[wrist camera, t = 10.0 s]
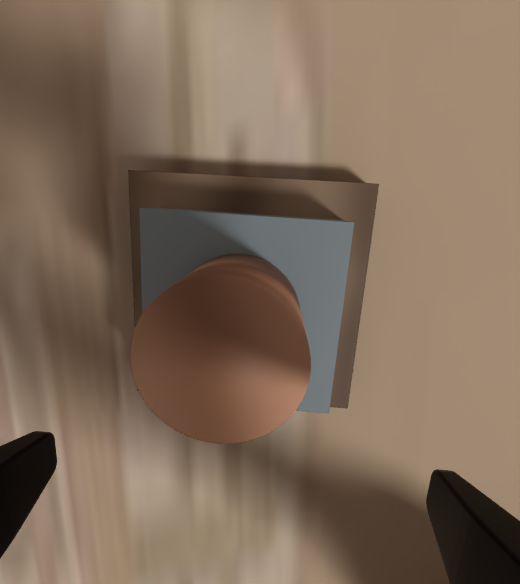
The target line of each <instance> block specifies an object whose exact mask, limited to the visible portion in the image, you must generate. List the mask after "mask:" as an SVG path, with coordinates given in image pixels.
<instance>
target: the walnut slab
mask: <svg viewBox="0 0 520 584" xmlns="http://www.w3.org/2000/svg"><path fill="white" fill-rule="evenodd" d="M128 172H129V196H130V221H131V245H132V269H133V294H134V318H135V327H136V325H137V323H138V321H139V318H140V317H141V315H142V283H141V247H140V211H139V208H170V209H185V210H200V211H214V212H229V213H244V214H259V215H274V216H289V217H304V218H319V219H334V220H345V221H350V222H354V229H353V236H352V244H351V251H350V259H349V266H348V274H347V281H346V289H345V296H344V304H343V311H342V319H341V326H340V334H339V341H338V349H337V356H336V364H335V371H334V379H333V386H332V394H331V401H330V407H337V408H348V401H349V394H350V387H351V380H352V373H353V365H354V358H355V351H356V344H357V337H358V330H359V323H360V316H361V309H362V301H363V294H364V287H365V280H366V273H367V266H368V259H369V252H370V244H371V237H372V230H373V223H374V216H375V209H376V202H377V195H378V187H379V184H371V183H353V182H335V181H316V180H298V179H280V178H262V177H244V176H225V175H207V174H189V173H171V172H153V171H134V170H128ZM137 391H138V388H137Z"/></svg>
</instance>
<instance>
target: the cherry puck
mask: <svg viewBox="0 0 520 584" xmlns="http://www.w3.org/2000/svg"><path fill="white" fill-rule="evenodd" d="M130 362H131V370H132V374H133V378H134V381H135V384H136V386H137V388H138V391H139V393H140V395H141V396H142V398H143V400H144V401H145V403H146V404H147V405H148V407H149V408H150V409H151V410H152V411H153V412H154V413H155V415H156V416H157V417H158V418H160V419H161V420H162V421H163V422H164V423H166V424H167V425H168V426H170V427H171V428H173V429H175V430H176V431H178V432H180V433H182V434H184V435H186V436H189V437H192V438H194V439H197V440H201V441H205V442H211V443H220V444H231V443H240V442H245V441H249V440H253V439H256V438H259V437H262V436H264V435H266V434H268V433H270V432H272V431H273V430H275V429H276V428H278V427H279V426H281V425H282V424H283V423H284V422H285V421H286V420H287V419H289V418H290V416H291V415H292V414H293V413H294V412H295V411H296V409H297V408H298V406H299V404H300V403H301V401H302V399H303V397H304V395H305V393H306V390H307V387H308V384H309V380H310V373H311V355H310V348H309V344H308V340H307V335H306V331H305V327H304V323H303V318H302V314H301V310H300V305H299V301H298V298H297V294H296V292H295V290H294V288H293V286H292V284H291V283H290V281H289V280H288V278H287V277H286V276H285V275H284V274H283V273H282V272H281V271H280V270H279V269H278V268H277V267H275V266H274V265H273V264H271V263H269V262H267V261H266V260H264V259H261V258H259V257H256V256H252V255H247V254H228V255H222V256H219V257H216V258H213V259H211V260H209V261H207V262H205V263H204V264H202V265H201V266H199V267H198V268H196V269H195V270H194V271H192V272H191V273H189V274H188V275H187V276H185V277H184V278H182V279H181V280H180V281H178V282H177V283H175V284H174V285H172V286H171V287H170V288H168V289H167V290H165V291H164V292H163V293H161V294H160V295H159V296H158V297H157V298H155V299H154V300H153V301H152V302H151V304H150V305H149V306H148V307H147V308H146V309H145V311H144V312H143V314H142V315H141V317H140V318H139V321H138V323H137V325H136V327H135V330H134V333H133V337H132V341H131V348H130Z"/></svg>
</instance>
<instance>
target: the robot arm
mask: <svg viewBox="0 0 520 584" xmlns="http://www.w3.org/2000/svg"><path fill="white" fill-rule="evenodd" d="M56 465H57V456H56V447H55V438H54V435H53V434H52V433H50V432H41V431H35V432H32V433H29V434H27V435H25V436H22V437H20V438H18V439H16V440H13V441H11V442H9V443H7V444H4V445H2V446H0V558H1V557H2V555H3V554H4V552H5V551H6V550H7V548H8V547H9V545H10V544H11V542H12V541H13V539H14V538H15V536H16V535H17V533H18V531H19V530H20V528H21V527H22V525H23V523H24V522H25V520H26V518H27V517H28V515H29V513H30V512H31V510H32V508H33V507H34V505H35V503H36V501H37V500H38V498H39V496H40V495H41V493H42V491H43V490H44V488H45V486H46V485H47V483H48V481H49V480H50V478H51V476H52V475H53V473H54V471H55V469H56ZM426 504H427V510H428V514H429V517H430V520H431V523H432V527H433V530H434V533H435V536H436V540H437V543H438V546H439V549H440V553H441V556H442V559H443V562H444V566H445V569H446V572H447V575H448V578H449V581H450V584H520V521H519V520H518V519H516V518H515V517H514V516H512V515H511V514H510V513H508V512H507V511H506V510H504V509H503V508H502V507H500V506H499V505H498V504H496V503H495V502H494V501H492V500H491V499H490V498H488V497H487V496H486V495H484V494H483V493H482V492H480V491H479V490H478V489H476V488H475V487H474V486H472V485H471V484H470V483H469V482H467V481H466V480H465V479H463V478H462V477H461V476H459V475H458V474H457V473H455V472H453V471H448V470H438V469H437V470H434V471H433V472H432V475H431V479H430V484H429V489H428V494H427V499H426Z"/></svg>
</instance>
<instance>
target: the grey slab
mask: <svg viewBox="0 0 520 584" xmlns="http://www.w3.org/2000/svg"><path fill="white" fill-rule="evenodd" d="M139 211H140V247H141V283H142V314H143V312H144V311H145V309H146V308H147V307H148V306H149V305H150V304H151V302H152V301H153V300H154V299H155V298H157V297H158V296H159V295H160V294H161V293H163V292H164V291H165V290H167V289H168V288H170V287H171V286H172V285H174V284H175V283H177V282H178V281H180V280H181V279H182V278H184V277H185V276H187V275H188V274H189V273H191V272H192V271H194V270H195V269H196V268H198V267H199V266H201V265H202V264H204V263H205V262H207V261H209V260H211V259H213V258H216V257H219V256H222V255H228V254H247V255H252V256H256V257H259V258H261V259H264V260H266V261H267V262H269V263H271V264H273V265H274V266H275V267H277V268H278V269H279V270H280V271H281V272H282V273H283V274H284V275H285V276H286V277H287V278H288V280H289V281H290V283H291V284H292V286H293V288H294V290H295V292H296V294H297V298H298V301H299V305H300V310H301V314H302V318H303V323H304V327H305V331H306V335H307V340H308V344H309V348H310V355H311V373H310V380H309V384H308V387H307V390H306V393H305V395H304V397H303V399H302V401H301V403H300V404H299V406H298V408H297V409H296V411H307V412H318V413H329V409H330V401H331V394H332V386H333V379H334V371H335V364H336V356H337V349H338V341H339V334H340V326H341V319H342V311H343V304H344V296H345V289H346V281H347V274H348V266H349V259H350V251H351V244H352V236H353V229H354V222H350V221H345V220H334V219H319V218H304V217H289V216H274V215H259V214H244V213H229V212H214V211H200V210H185V209H170V208H139Z"/></svg>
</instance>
